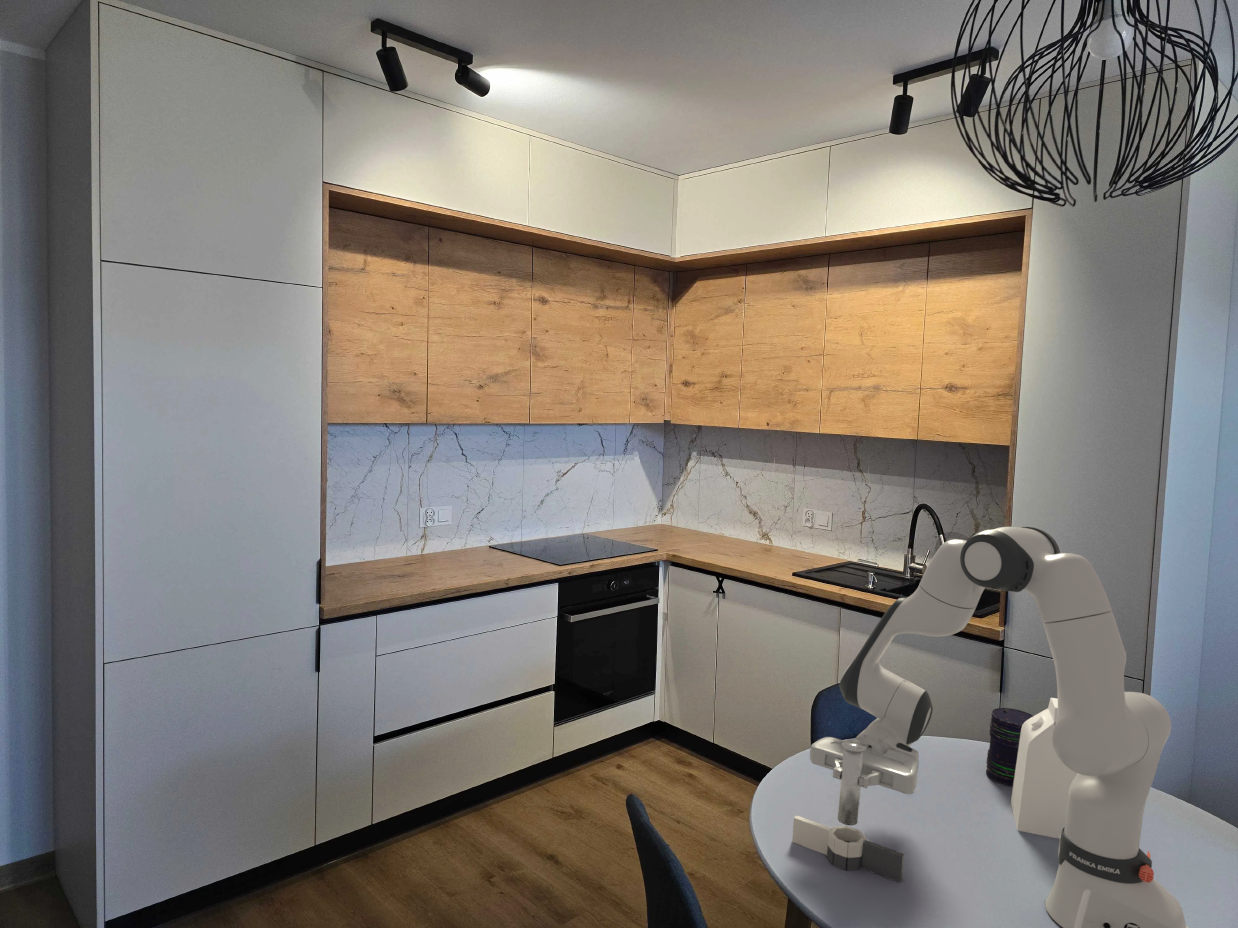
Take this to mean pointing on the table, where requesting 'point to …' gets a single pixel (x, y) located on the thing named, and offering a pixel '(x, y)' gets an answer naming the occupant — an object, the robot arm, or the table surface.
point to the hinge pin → (850, 781)
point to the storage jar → (1004, 744)
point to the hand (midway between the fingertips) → (849, 778)
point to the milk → (1040, 778)
